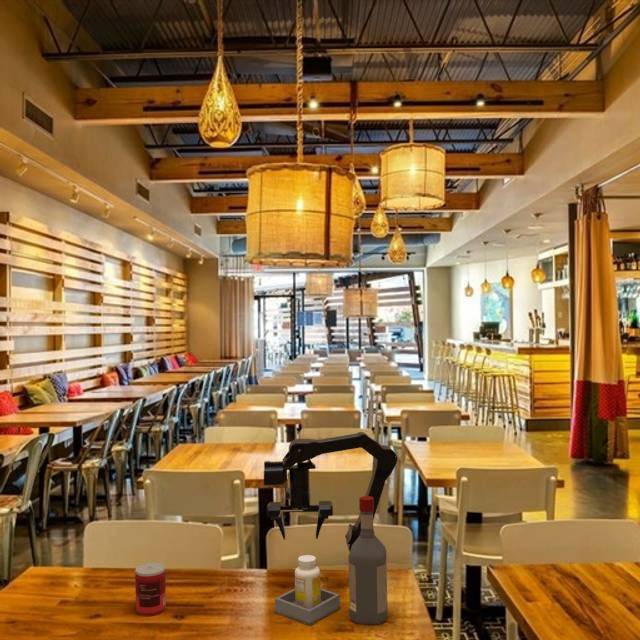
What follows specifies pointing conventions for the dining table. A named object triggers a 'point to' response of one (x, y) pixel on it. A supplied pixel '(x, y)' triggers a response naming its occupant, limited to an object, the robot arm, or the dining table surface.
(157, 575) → the canned food
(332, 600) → the tray
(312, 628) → the dining table surface
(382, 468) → the robot arm
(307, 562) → the supplement bottle
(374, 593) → the liquor
